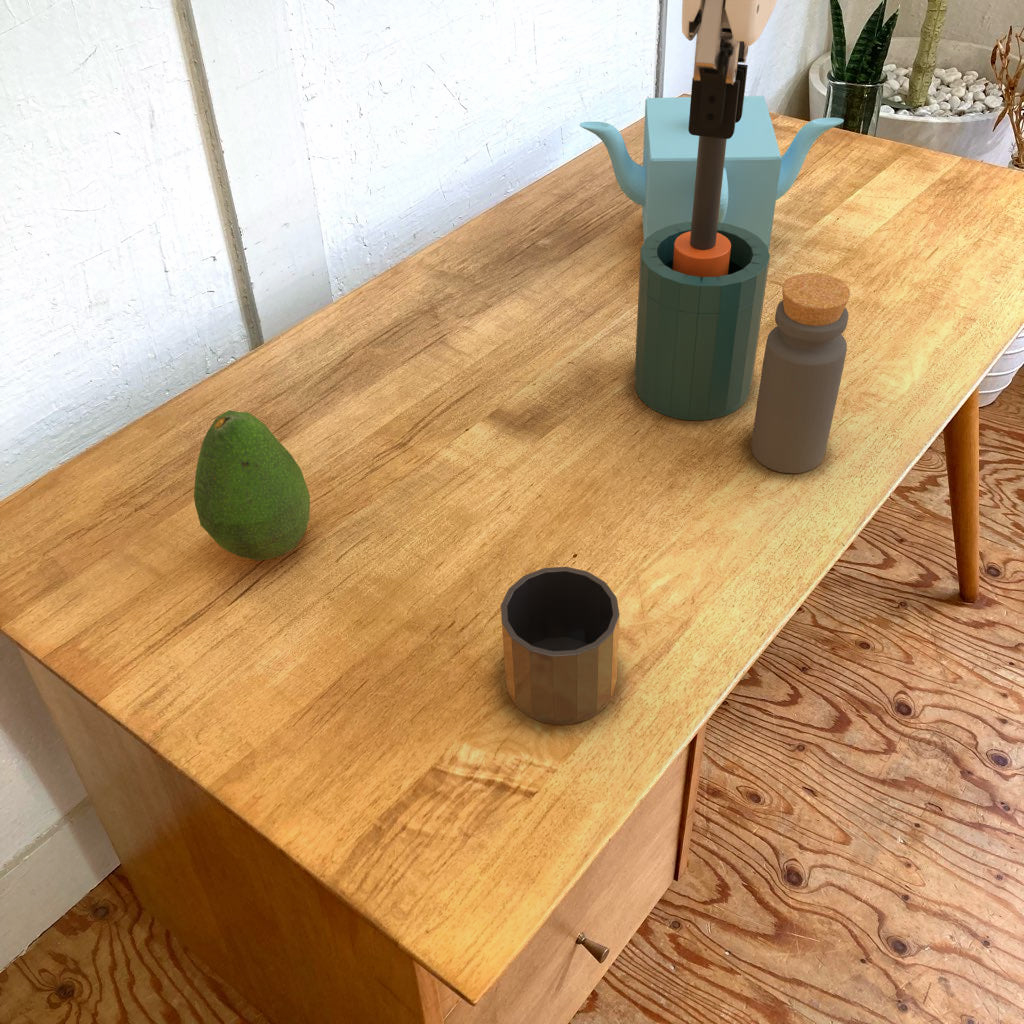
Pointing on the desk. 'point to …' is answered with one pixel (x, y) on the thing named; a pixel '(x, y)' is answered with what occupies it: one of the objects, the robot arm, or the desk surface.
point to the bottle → (801, 374)
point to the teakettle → (673, 160)
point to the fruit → (249, 489)
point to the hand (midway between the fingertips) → (715, 125)
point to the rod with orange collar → (705, 216)
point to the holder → (560, 644)
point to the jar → (698, 327)
